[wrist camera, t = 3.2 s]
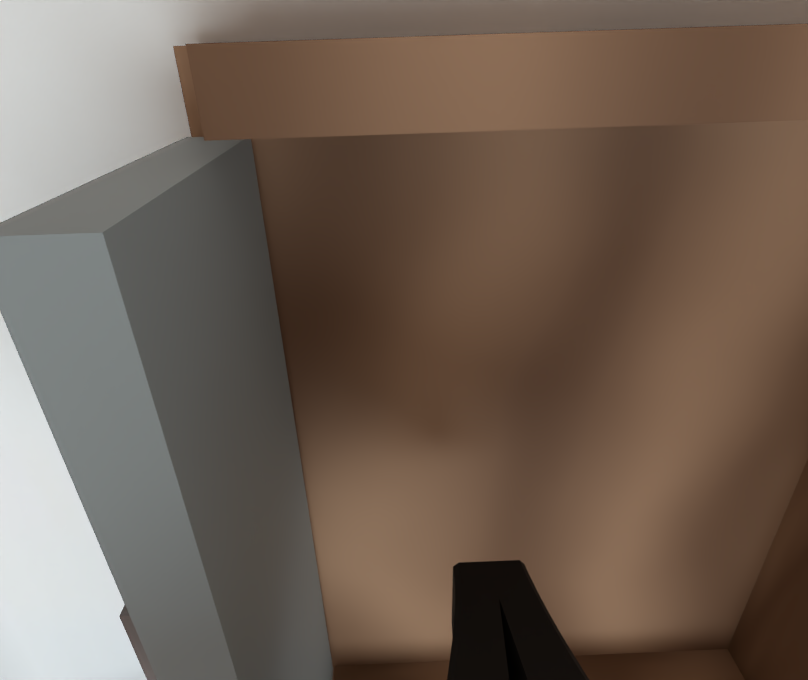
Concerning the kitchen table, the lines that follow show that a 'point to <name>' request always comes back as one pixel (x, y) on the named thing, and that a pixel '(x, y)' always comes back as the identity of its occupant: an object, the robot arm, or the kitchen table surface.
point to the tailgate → (175, 407)
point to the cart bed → (542, 331)
